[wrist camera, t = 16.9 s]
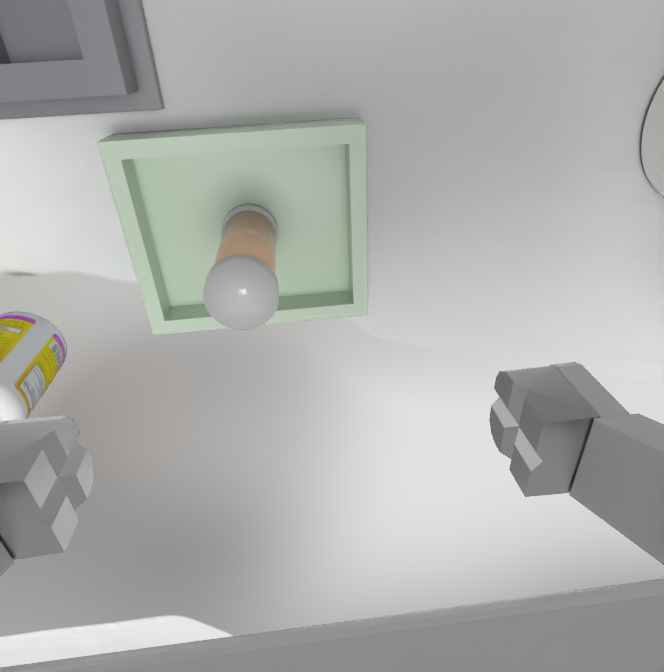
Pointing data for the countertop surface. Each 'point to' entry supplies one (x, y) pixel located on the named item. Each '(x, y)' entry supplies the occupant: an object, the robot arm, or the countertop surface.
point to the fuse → (244, 270)
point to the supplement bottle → (27, 362)
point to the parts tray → (235, 189)
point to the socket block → (75, 58)
